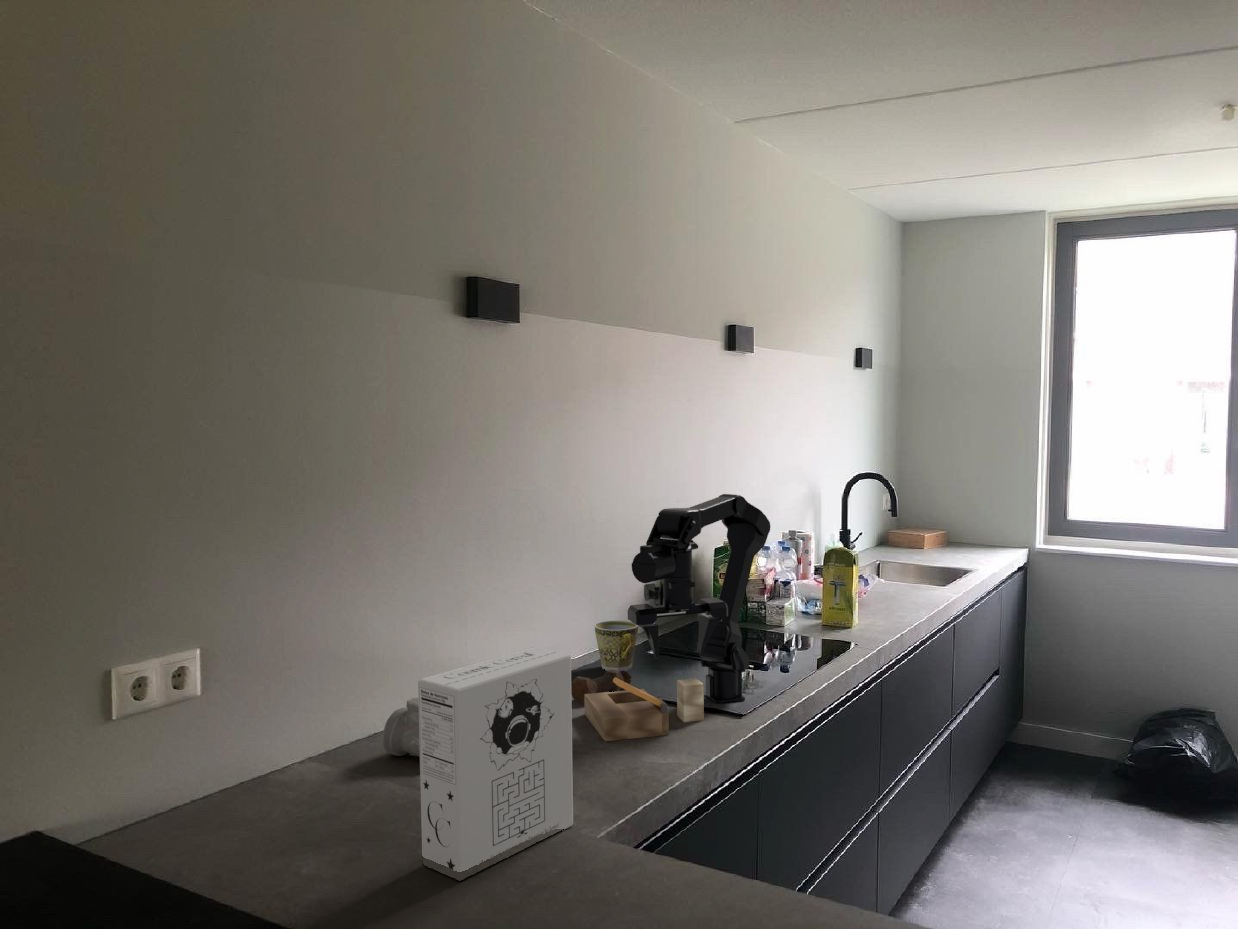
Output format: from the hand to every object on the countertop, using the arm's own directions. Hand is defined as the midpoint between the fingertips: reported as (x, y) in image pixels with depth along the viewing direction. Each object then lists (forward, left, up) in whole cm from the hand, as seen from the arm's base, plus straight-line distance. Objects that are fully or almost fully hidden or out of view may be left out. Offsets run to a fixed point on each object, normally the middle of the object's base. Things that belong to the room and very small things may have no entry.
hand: (678, 655), depth 189 cm
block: (+11, +1, -12) cm, 16 cm away
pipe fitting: (+49, +8, -12) cm, 51 cm away
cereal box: (+41, +45, -12) cm, 62 cm away
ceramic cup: (+2, -36, -12) cm, 38 cm away
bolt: (+10, -19, -13) cm, 25 cm away
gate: (+10, +6, -5) cm, 13 cm away
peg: (-2, +1, -12) cm, 12 cm away
